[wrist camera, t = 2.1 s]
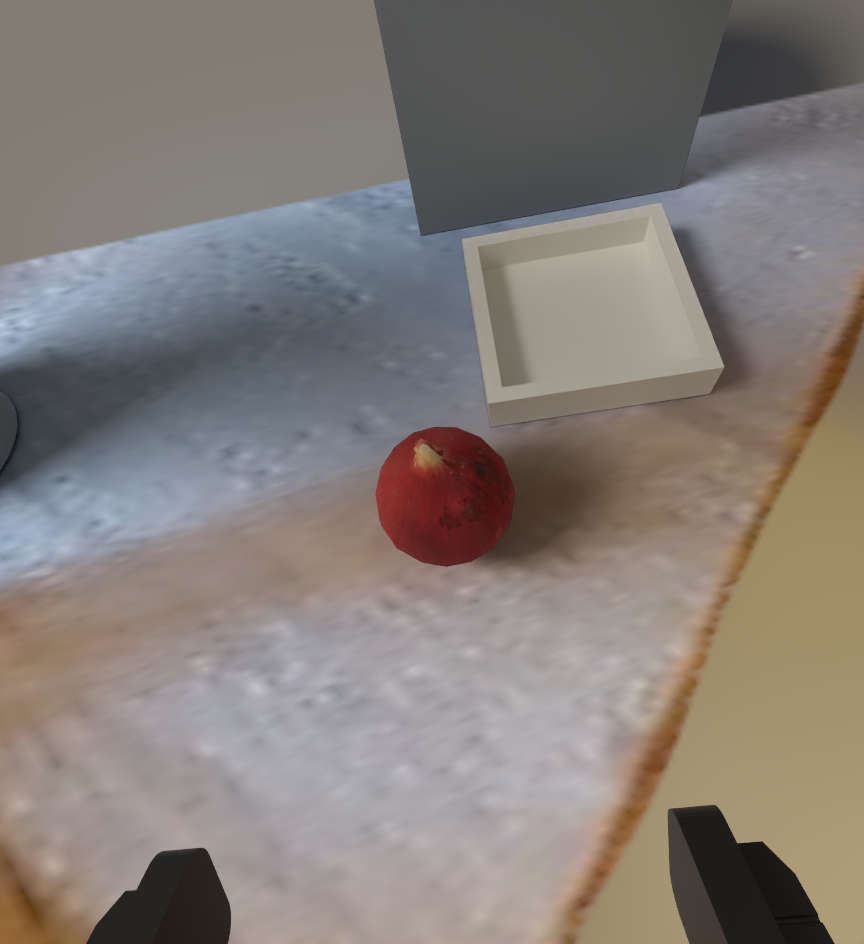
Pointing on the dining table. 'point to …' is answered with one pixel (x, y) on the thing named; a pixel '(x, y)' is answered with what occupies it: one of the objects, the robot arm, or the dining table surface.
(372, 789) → the dining table surface
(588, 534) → the dining table surface
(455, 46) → the inverted l bracket
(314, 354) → the dining table surface
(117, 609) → the dining table surface
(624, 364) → the tray
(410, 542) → the onion
